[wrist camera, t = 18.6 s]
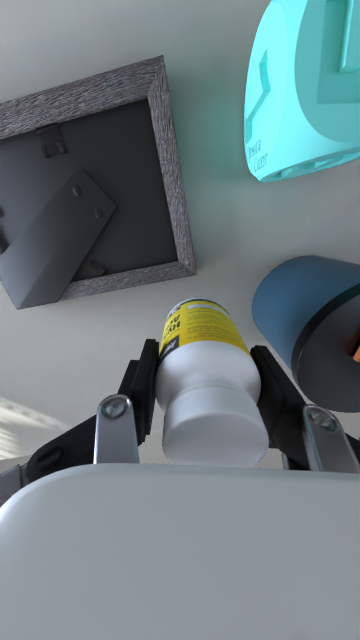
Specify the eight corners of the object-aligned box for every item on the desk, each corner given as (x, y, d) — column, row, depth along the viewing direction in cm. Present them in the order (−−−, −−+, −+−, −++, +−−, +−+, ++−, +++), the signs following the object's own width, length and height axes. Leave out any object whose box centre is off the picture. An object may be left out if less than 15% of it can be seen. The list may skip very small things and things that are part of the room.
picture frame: (29, 303, 24) (195, 271, 22) (16, 309, 22) (197, 275, 20) (-65, 138, 17) (164, 71, 15) (-95, 127, 15) (162, 49, 13)
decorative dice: (241, 68, 15) (296, -82, 8) (348, 39, 14) (518, -153, 7) (244, 188, 18) (285, 161, 11) (331, 169, 18) (434, 129, 10)
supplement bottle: (170, 289, 14) (154, 384, 6) (238, 302, 15) (322, 409, 6) (160, 347, 17) (137, 479, 8) (219, 357, 17) (260, 493, 8)
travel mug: (325, 344, 26) (414, 417, 16) (241, 339, 26) (278, 410, 16) (366, 256, 21) (534, 281, 11) (262, 249, 21) (337, 268, 11)
